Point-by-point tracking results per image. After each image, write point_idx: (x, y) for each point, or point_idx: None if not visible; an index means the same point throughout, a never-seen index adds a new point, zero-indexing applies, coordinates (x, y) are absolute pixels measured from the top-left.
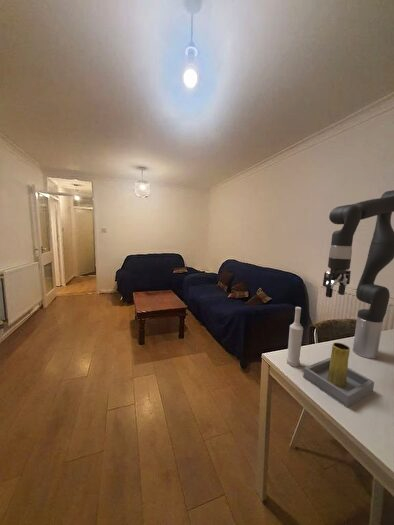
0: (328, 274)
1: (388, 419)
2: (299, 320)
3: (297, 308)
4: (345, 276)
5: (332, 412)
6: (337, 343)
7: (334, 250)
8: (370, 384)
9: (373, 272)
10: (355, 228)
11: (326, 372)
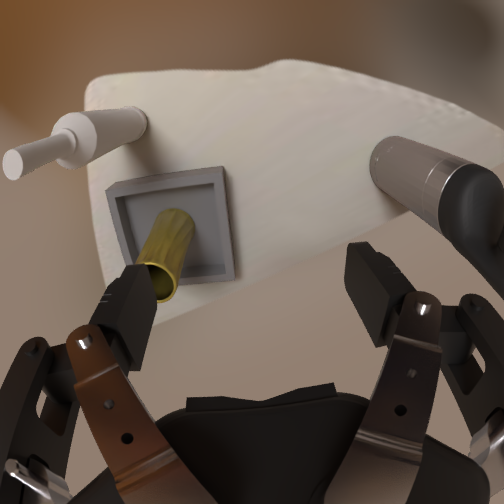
0: (13, 498)
1: (189, 309)
2: (56, 158)
3: (5, 173)
4: (486, 406)
5: (107, 273)
6: (159, 265)
7: None
8: (218, 280)
9: None
10: None
11: (181, 193)
